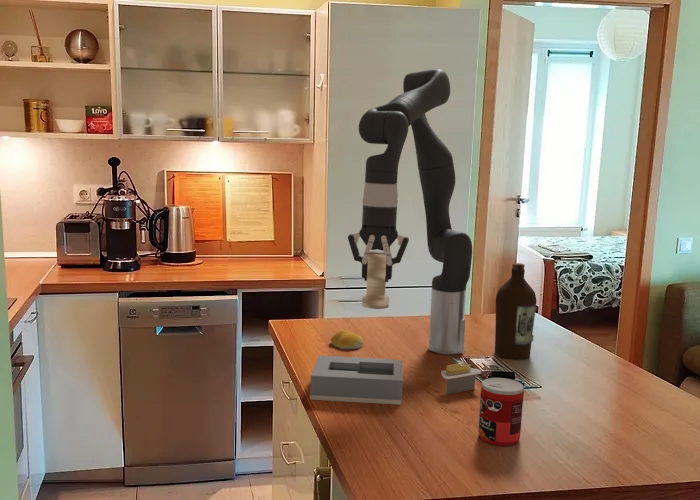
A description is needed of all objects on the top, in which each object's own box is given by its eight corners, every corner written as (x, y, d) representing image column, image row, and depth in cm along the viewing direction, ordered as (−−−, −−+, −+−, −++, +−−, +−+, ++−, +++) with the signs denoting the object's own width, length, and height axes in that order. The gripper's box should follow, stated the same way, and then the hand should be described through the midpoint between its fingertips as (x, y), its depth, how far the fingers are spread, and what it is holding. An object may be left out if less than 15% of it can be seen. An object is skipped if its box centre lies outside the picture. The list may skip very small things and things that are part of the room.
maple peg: (389, 303, 154) (391, 251, 152) (388, 309, 148) (390, 255, 147) (362, 301, 155) (365, 250, 153) (360, 308, 149) (363, 254, 147)
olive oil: (484, 351, 186) (489, 262, 182) (511, 346, 192) (517, 259, 188) (513, 363, 177) (519, 269, 173) (540, 356, 183) (547, 266, 179)
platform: (411, 389, 158) (412, 362, 157) (473, 378, 166) (474, 352, 165) (441, 407, 147) (443, 378, 146) (505, 395, 156) (507, 367, 155)
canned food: (473, 429, 135) (476, 377, 134) (512, 429, 136) (516, 377, 134) (484, 447, 128) (487, 391, 126) (525, 446, 129) (529, 391, 127)
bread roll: (346, 352, 183) (347, 338, 182) (326, 344, 189) (326, 330, 189) (369, 347, 188) (370, 333, 187) (348, 339, 195) (348, 325, 194)
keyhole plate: (401, 382, 161) (402, 359, 160) (401, 404, 147) (402, 380, 146) (318, 377, 162) (318, 355, 161) (310, 399, 149) (310, 375, 148)
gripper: (412, 204, 151) (408, 279, 154) (349, 201, 152) (346, 275, 155) (412, 207, 144) (408, 286, 146) (346, 203, 145) (342, 282, 148)
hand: (376, 280), depth 151 cm, fingers closed on maple peg, 4 cm apart
